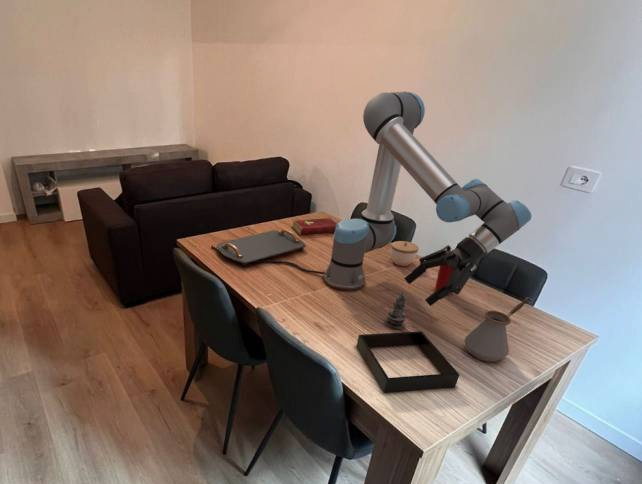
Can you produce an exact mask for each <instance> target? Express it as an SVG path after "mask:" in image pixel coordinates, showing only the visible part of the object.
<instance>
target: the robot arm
mask: <svg viewBox="0 0 642 484" xmlns="http://www.w3.org/2000/svg"><path fill="white" fill-rule="evenodd" d="M425 112H426V108H425V104H424V101H423V100H422V98H421V97H420V96H419V95H418V94H417V93H414V92H412V91H411V92H409V91H394V92H392V91H391V92H386V91H385V92H380V93H378V94H376V95H374V96H373V97H371V98H370V100H368V102H367V104H366V105H365V107H364V111H363V115H362V116H363V117H362V118H363V124H364V127H365V129H366V131H367V133H368V134H369V136H370V137H371V138H372V139H373V141H374V142H375V143H376V144H377V145H378V149H377V154H376V158H375V159H376V160H375V164H374V170H373V175H372V180H371V186H370V190H369V196H368V200H367V206H366V208H365V209H364V210H363V211H361V215H360V218H355V217H354V218H346V219H343V220H341V221H339V222H337V223H338V224H337V226H336V229H335V232H334V233H333V242H332V249H331V257H330V262H329V264H328V265H327V268H326V269H325V271H319V270H311V269H307V268H303V267H301V266H300V265H298V264H296V263H294V262H291V261H286V260H272V259H261V260H257V261H256V262H261V263H271V264H272V263H273V264H286V265H291V266H294V267H295V268H297V269H299V270H300V271H303V272H306V273H313V274H319V275H323V282H324V283H325V284H326V285H327V286H328V287H330V288H332V289H335V290H339V291H346V292H347V291H349V292H350V291H356V290H357V291H358V290H360V289H361V288H363V287H364V285H365V280H366V278H365V274H364V268H363V263H364V258H365V254H367V253H369V252H372V251H375V250H378V249H382V248H385V247H386V246H387V245H389V244H390V243H392V241H393V240H394V239H395V237H396V235H397V226H396V224H395V223H396V222H395V220H394V218H395V216H394V214H393V213H392V207H393V204H394V203H393V202H394V198H395V194H396V189H397V185H398V181H399V177H400V176H399V175H400V171H401V167H403V169H404V170H405V171H406V172H407V173H408V174H409V175H410V177H411V178H412V179H413V180H414V181H415V182H416V183H417V184H418V185H419V187H420V188H421V189H422V190H423V191H424V192H425V193H426V195H427V196H429V198H430V199H431V200H432V201H433V202H434V203H435V205H436V206H435V211H436V216H437V218H439V220H441V221H442V222H444V223H454V222H455V223H456V222H462V220H464V219H467V218H470V217H473V216H475V217H477V218H478V219H479V220H481V221H482V222H483V223H482V224H481V225H480V226H478V227H477V228H475V229H474V230H473V231H471V232H470V233H469V234H468V236H466V237H464V238H463V239H461V240H460V241H459V242H458V243H457V244H456V248H452V247H451V245H450V244H448V245H446V246H444V247H443V248H441V249H439V250H436V251H435V252H432V253H429V254H427V255H425V256H421V257H420V258H419V259H418V260H419V265H417V267H415V268H414V269H412V271H411V272H410V273H409V274H407V275H406V276H405V277H404V278H403V279H404V280H405V282H406V283H407V284H408V285H411V284H412V283H413V282H415V281H416V280H417V279H418V278H419V277H421V276H422V275H423V274H425V273H426V271H427V270H428V269H433V268H436V267H437V268H438V267H440V266H442V265H448V266H449V267H451V268H452V272H451V275H450V278H449V280H448V283H447V285H445V286H444V285H443V286H442V287H441V288H439V289H438V290H437V291H435V290H434V292H433V293H432V294H430V295H429V296H427V297H426V298H425V299H424V301H425V302H426V303H427V304H428V306H430V307H432V306H433V305H434V304H436V303H437V302H438V301H439V300H443V299H444V298H446V297H447V296H448V294H449V293H450V294H455V295H456V296H457V295H460V293H461V291H462V290H463V288H464V287H465V286H466V284H467V282H468V281H469V279H470V278H471V276H472V275H473V274H474V273H475V272H477V270H478V267H477V266H476V263H477V262H478V261H479V260H481V259H483V258H484V257H485V254H489V253H490V252H491V251H493V250H494V249H496V247H498V246H500V245H501V244H502V243H503V242H504V241H506V240H508V238H510V237H511V236H513V235H514V234H515V233H517V232H518V231H520V230H521V229H522V228H523V227H524V226H526V225H527V223H529V222H530V221H531V220H532V212H531V210H530V209H529V208H528V207H527V206H526V205H525V204H524V203H522V202H521V201H519V200H517V199H516V200H515V199H514V200H511V201H510V202H507V201H506V200H504V199H502V198H501V197H500V196H499V195H498V194H496V192H494V191H493V189H492V188H491V187H489V186H488V185H487V183H484V182H483V181H482V180H480V179H478V178H474V179H471V180H470V181H468V182H466V183H465V184H464V185H463V186H462V187H461V186H460V184H459V183H457V181H456V180H455V179H454V178H453V177H452V175H450V174H449V173H448V171H446V169H445V168H444V167H443V166H442V165H441V163H439V162H438V160H436V158H435V157H434V156H433V155H432V154H431V153H430V152H429V151H428V150H427V148H426V147H425V146H424V145H423V144H422V143H421V142H420V141H419V140H418V139H417V138H416V136H414V132H415V129H417V128H418V127H419V126H420V125H421V124H422V122H423V120H424V118H425V114H426V113H425ZM213 246H214V245H211V248H212V249H213V250H216V251H218V252H219V250H218V249H217V247H216V246H214V247H213ZM215 247H216V248H215ZM450 294H449V295H450Z"/></svg>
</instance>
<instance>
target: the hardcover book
mask: <svg viewBox="0 0 642 484" xmlns="http://www.w3.org/2000/svg"><path fill="white" fill-rule="evenodd" d="M291 221H292V226H291V229H292V230H293V231H294V232H295V233H296V234H297V235H298V236H299V237H303V236H317V235H328V234H330V235H331V234H334V232H335V229H336V226H337V224H338V223H339V222H337V221H336V220H335V219H333V218H332V217H319V218H317V217H316V218H304V219H292V220H291Z"/></svg>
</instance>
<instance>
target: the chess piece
mask: <svg viewBox="0 0 642 484" xmlns="http://www.w3.org/2000/svg"><path fill="white" fill-rule="evenodd" d="M395 297H396V298H395V301H394V302H393V304H392V305H393V309H392V310H389V311H387V314H386V315H387V320H386V321H385V325H386V327H388V328H390V329H392V330H402V329H403V328H404V324H403V323H404V322H405V320H407V315H406V314H405V313H404V310H405V308H406V300H407V297H406V295H404V292H400V293H399V294H397V295H396V296H395Z"/></svg>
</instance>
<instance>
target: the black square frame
mask: <svg viewBox="0 0 642 484" xmlns="http://www.w3.org/2000/svg"><path fill="white" fill-rule="evenodd" d="M405 346H417V347H418V348H419V349H420V351H422V353H423V354H424V355H425V357H426V358H427V359H428V360H429V361H430V363H431V364H432V365H433V367H434V368H435V369H436V370H437V372H438V373H435V374H421V375H410V376H409V375H407V376H393V377H389V376H388V374H387V372H386V371H385V370H384V368H383V366H382V365H381V364H380V362H379V360H378V358H377V357H376V356H375V354H374V352H373V351H372V349H373V348H388V347H391V348H392V347H405ZM356 349H357V351H358V353H359V354H360V356H361V358H362V359H363V361H364V363H365V364H366V366H367V368H368V369H369V371H370V373H371V374H372V376H373V378H374V380H375V381H376V383H377V385H378V387H379V388H380V390H381V392H382V393H383V394H394V393H405V392H406V393H408V392H420V391H421V392H422V391H432V390H433V391H434V390H445V389H446V390H447V389H456V386H457V384H458V381H459V378H460V373H459V372H458V371H457V370H456V369H455V367H453V365H452V363H450V362H449V360H448V359H447V358H446V357H445V356H444V355H443V354H442V352H440V349H438V348H437V347H436V346H435V344H434V343H433V342H432V341H431V340H430V339H429V337H428V336H427V335H426V334H425V333H424V332H423V330H417V331H416V330H415V331H399V332H398V331H397V332H383V333H366V334H365V333H364V334H358V336H357V341H356Z"/></svg>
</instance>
